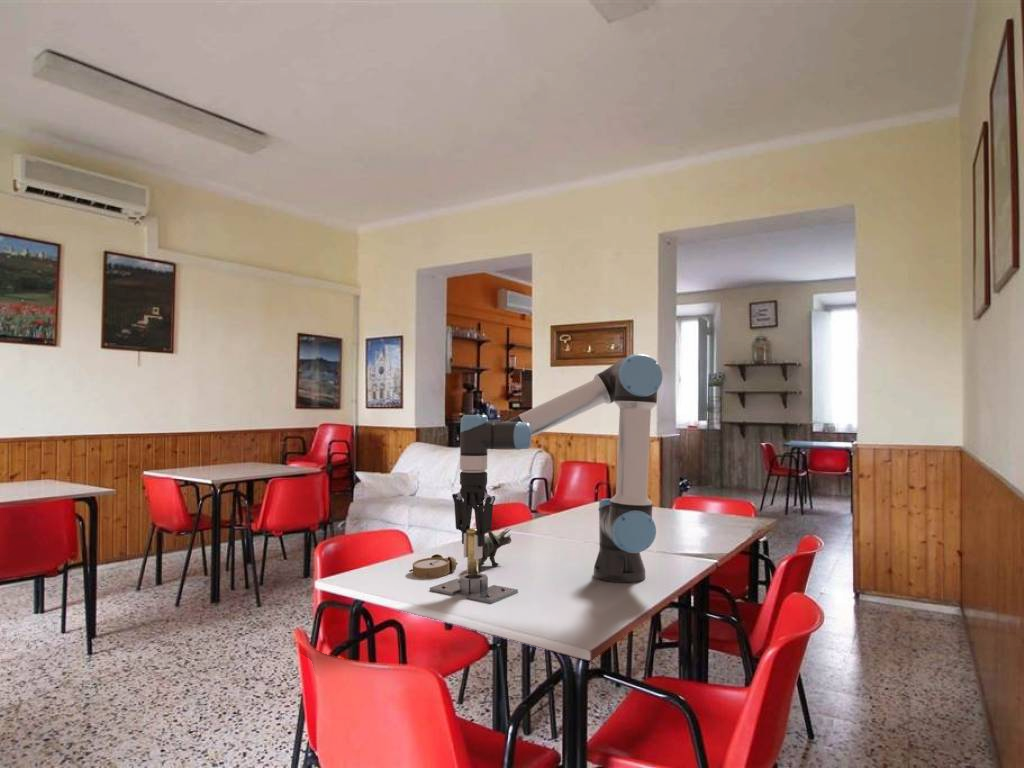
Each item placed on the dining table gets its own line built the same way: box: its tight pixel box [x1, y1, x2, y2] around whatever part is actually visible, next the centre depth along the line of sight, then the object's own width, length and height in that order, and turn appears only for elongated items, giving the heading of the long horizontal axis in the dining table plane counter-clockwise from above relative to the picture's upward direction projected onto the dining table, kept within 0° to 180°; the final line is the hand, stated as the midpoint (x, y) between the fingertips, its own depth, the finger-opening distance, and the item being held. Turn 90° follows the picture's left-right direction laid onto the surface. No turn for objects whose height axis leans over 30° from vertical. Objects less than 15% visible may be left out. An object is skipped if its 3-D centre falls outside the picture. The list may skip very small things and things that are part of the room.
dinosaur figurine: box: [478, 527, 512, 573], centre depth 199 cm, size 22×8×11 cm, turn 148°
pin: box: [466, 527, 479, 575], centre depth 173 cm, size 4×4×12 cm
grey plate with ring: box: [429, 572, 519, 604], centre depth 172 cm, size 12×21×4 cm, turn 55°
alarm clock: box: [408, 553, 458, 579], centre depth 194 cm, size 11×5×15 cm
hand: (473, 557), depth 172 cm, fingers closed on pin, 3 cm apart
